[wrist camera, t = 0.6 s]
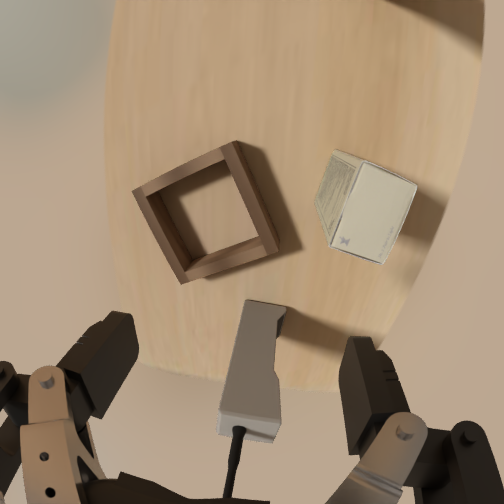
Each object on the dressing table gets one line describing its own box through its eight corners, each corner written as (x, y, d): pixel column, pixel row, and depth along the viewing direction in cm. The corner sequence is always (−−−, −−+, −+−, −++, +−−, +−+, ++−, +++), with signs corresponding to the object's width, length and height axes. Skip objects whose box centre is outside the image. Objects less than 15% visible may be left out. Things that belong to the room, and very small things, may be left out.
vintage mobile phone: (280, 329, 37) (263, 527, 14) (241, 322, 37) (195, 517, 14) (286, 305, 35) (274, 518, 13) (245, 298, 35) (194, 506, 13)
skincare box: (350, 216, 30) (383, 270, 19) (311, 202, 30) (325, 250, 19) (372, 161, 27) (421, 186, 16) (332, 145, 27) (362, 158, 16)
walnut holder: (236, 140, 28) (231, 141, 25) (279, 240, 32) (278, 251, 29) (144, 184, 31) (131, 191, 28) (188, 272, 35) (180, 284, 32)
